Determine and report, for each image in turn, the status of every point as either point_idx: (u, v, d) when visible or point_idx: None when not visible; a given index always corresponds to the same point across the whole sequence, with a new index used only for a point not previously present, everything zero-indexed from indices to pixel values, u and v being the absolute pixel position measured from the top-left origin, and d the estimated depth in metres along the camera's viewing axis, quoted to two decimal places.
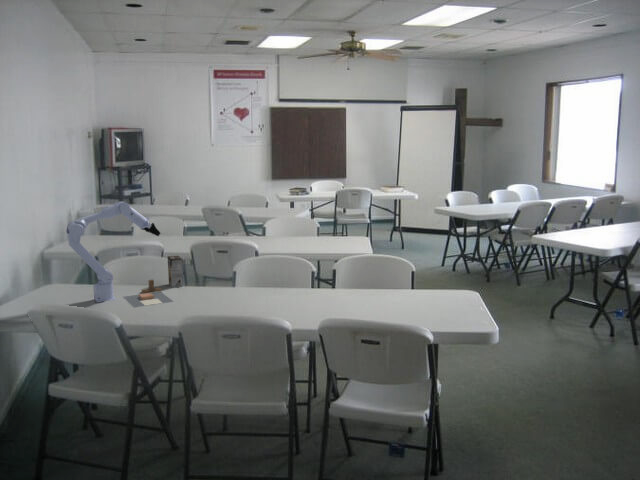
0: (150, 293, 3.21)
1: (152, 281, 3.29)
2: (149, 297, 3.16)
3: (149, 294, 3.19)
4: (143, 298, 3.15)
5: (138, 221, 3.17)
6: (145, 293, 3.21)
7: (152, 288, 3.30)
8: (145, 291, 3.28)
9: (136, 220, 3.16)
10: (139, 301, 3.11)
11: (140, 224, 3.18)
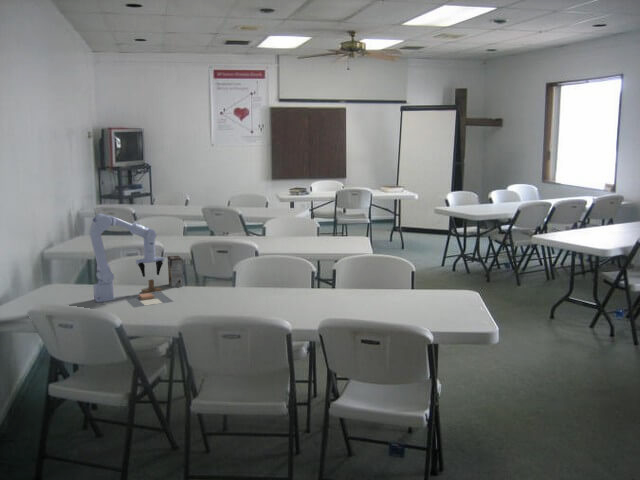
0: (150, 293, 3.21)
1: (152, 281, 3.29)
2: (149, 297, 3.16)
3: (149, 294, 3.19)
4: (143, 298, 3.15)
5: None
6: (145, 293, 3.21)
7: (152, 288, 3.30)
8: (145, 291, 3.28)
9: None
10: (139, 301, 3.11)
11: (155, 256, 3.27)
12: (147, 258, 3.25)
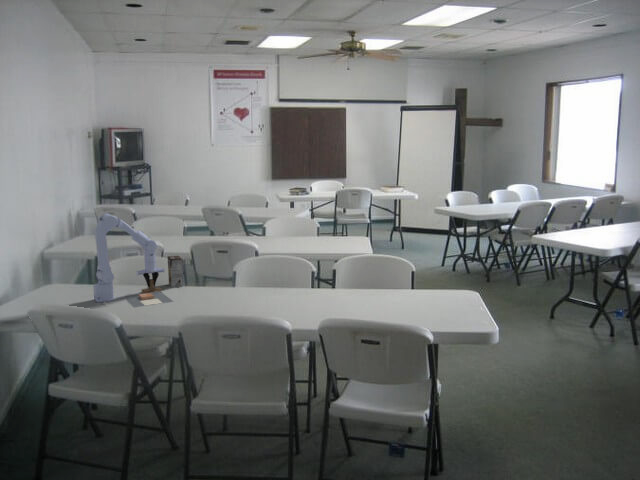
0: (150, 293, 3.21)
1: (152, 281, 3.29)
2: (149, 297, 3.16)
3: (149, 294, 3.19)
4: (143, 298, 3.15)
5: (155, 263, 3.29)
6: (145, 293, 3.21)
7: (152, 288, 3.30)
8: (145, 291, 3.28)
9: (155, 261, 3.28)
10: (139, 301, 3.11)
11: (155, 267, 3.28)
12: (147, 269, 3.26)
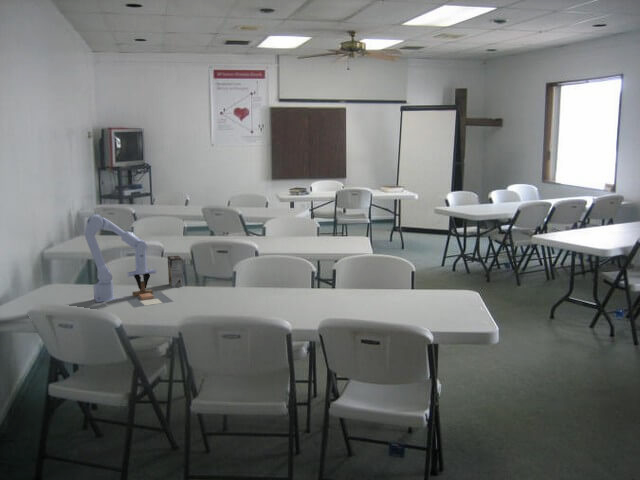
0: (150, 293, 3.21)
1: (143, 283, 3.22)
2: (149, 297, 3.16)
3: (149, 294, 3.19)
4: (143, 298, 3.15)
5: (146, 264, 3.22)
6: (145, 293, 3.21)
7: (143, 290, 3.23)
8: (136, 293, 3.21)
9: (146, 262, 3.21)
10: (139, 301, 3.11)
11: (146, 268, 3.21)
12: (138, 270, 3.19)
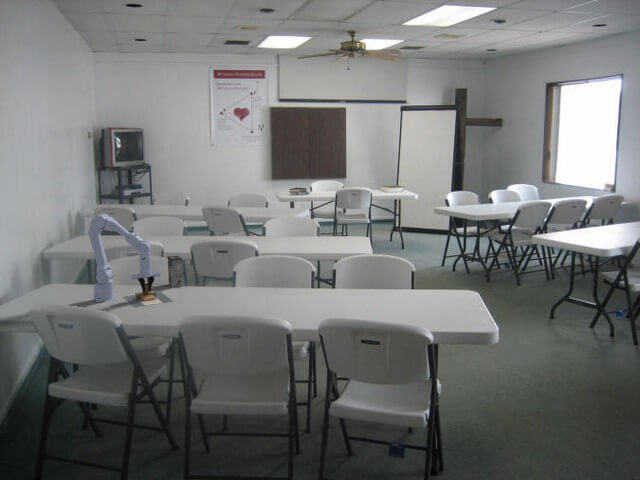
0: (152, 295, 3.18)
1: (147, 286, 3.16)
2: (151, 299, 3.14)
3: (151, 296, 3.16)
4: (145, 300, 3.12)
5: None
6: (147, 295, 3.18)
7: (146, 292, 3.18)
8: (139, 295, 3.16)
9: None
10: (139, 301, 3.11)
11: (151, 271, 3.15)
12: (143, 273, 3.12)
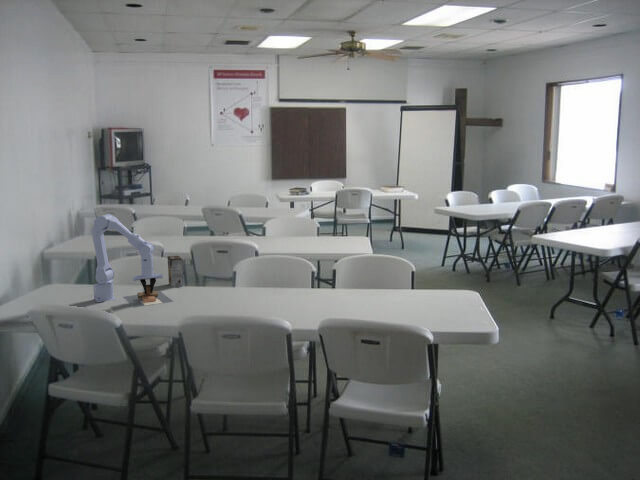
0: (153, 296, 3.16)
1: (149, 288, 3.13)
2: (151, 300, 3.11)
3: (152, 297, 3.14)
4: (145, 301, 3.10)
5: None
6: (148, 296, 3.16)
7: (148, 293, 3.15)
8: (140, 296, 3.15)
9: (152, 266, 3.11)
10: (139, 301, 3.11)
11: (152, 272, 3.11)
12: (144, 275, 3.10)
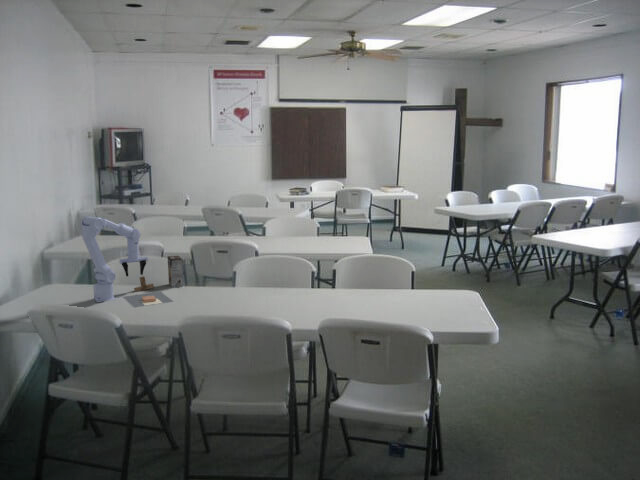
0: (153, 296, 3.16)
1: (143, 278, 3.32)
2: (151, 300, 3.11)
3: (152, 297, 3.14)
4: (145, 301, 3.10)
5: (138, 252, 3.28)
6: (148, 296, 3.16)
7: (144, 285, 3.33)
8: (138, 288, 3.31)
9: (138, 250, 3.28)
10: (139, 301, 3.11)
11: (138, 255, 3.28)
12: (130, 258, 3.26)
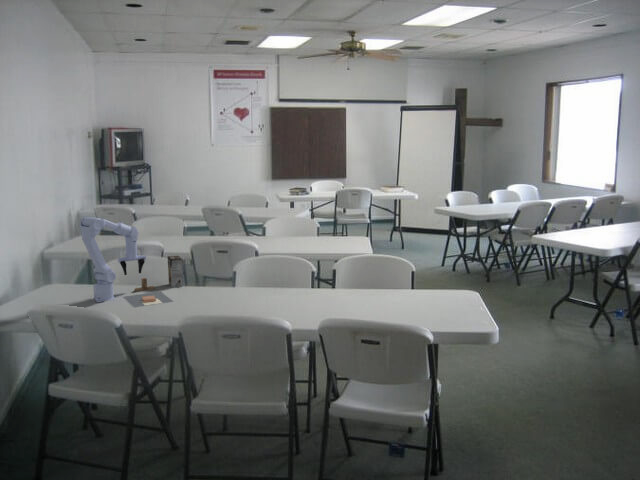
0: (153, 296, 3.16)
1: (145, 279, 3.32)
2: (151, 300, 3.11)
3: (152, 297, 3.14)
4: (145, 301, 3.10)
5: None
6: (148, 296, 3.16)
7: (145, 286, 3.33)
8: (138, 289, 3.31)
9: (136, 248, 3.28)
10: (139, 301, 3.11)
11: (136, 254, 3.28)
12: (129, 256, 3.26)
